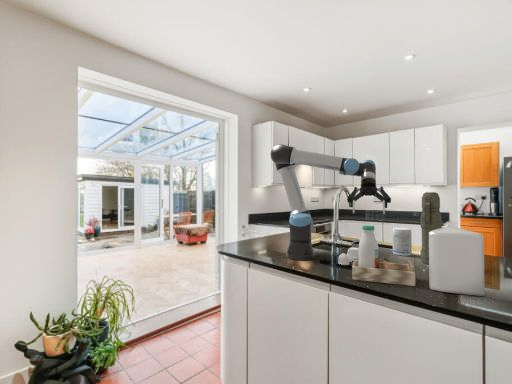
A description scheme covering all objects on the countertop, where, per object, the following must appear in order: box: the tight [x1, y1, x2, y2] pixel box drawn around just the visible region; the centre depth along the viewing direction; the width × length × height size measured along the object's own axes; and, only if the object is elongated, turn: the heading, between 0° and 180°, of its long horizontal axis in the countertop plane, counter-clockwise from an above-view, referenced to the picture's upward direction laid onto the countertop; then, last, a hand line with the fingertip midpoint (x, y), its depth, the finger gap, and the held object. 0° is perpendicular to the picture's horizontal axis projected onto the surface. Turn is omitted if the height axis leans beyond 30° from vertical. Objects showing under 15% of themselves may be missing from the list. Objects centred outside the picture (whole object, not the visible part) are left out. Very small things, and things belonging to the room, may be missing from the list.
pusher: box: [383, 255, 389, 270], centre depth 109 cm, size 2×10×8 cm, turn 158°
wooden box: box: [351, 259, 416, 287], centre depth 110 cm, size 22×13×7 cm, turn 68°
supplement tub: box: [392, 227, 413, 257], centre depth 154 cm, size 10×10×15 cm
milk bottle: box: [358, 224, 380, 269], centre depth 112 cm, size 8×8×20 cm
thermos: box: [420, 191, 443, 266], centre depth 134 cm, size 9×12×35 cm
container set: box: [337, 246, 359, 266], centre depth 139 cm, size 20×5×6 cm, turn 140°
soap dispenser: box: [428, 226, 486, 297], centre depth 98 cm, size 15×14×22 cm
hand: (368, 211), depth 131 cm, fingers open, 13 cm apart
